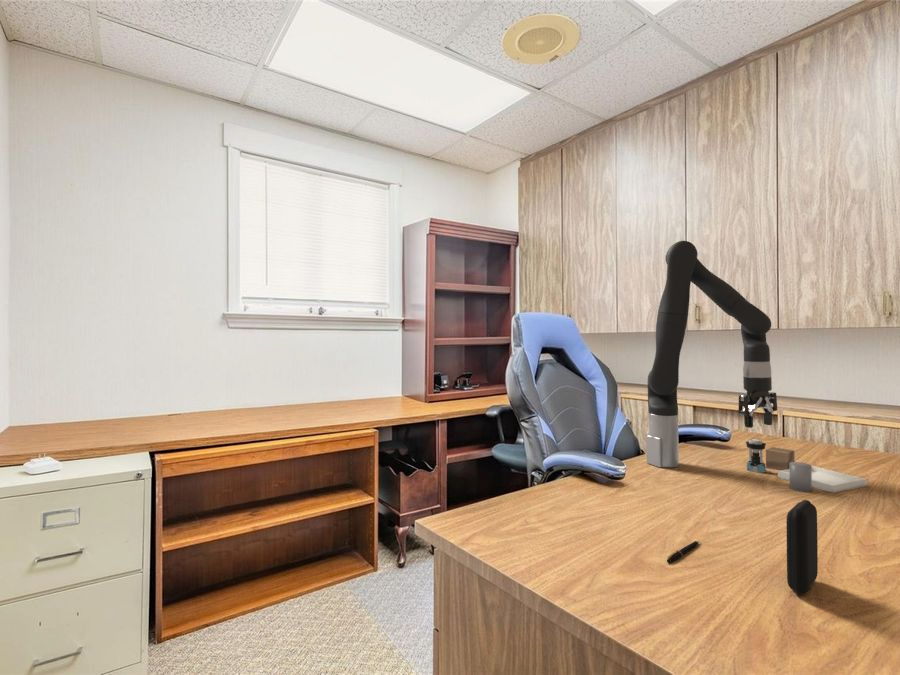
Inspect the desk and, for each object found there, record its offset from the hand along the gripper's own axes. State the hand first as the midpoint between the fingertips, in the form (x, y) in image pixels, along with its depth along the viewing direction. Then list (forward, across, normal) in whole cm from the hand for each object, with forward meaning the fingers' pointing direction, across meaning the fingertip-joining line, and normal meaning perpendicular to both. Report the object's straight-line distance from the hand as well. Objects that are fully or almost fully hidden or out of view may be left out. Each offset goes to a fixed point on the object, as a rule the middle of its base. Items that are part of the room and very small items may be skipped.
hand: (758, 426), depth 148 cm
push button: (+15, 0, 0) cm, 15 cm away
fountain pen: (+15, +66, +32) cm, 75 cm away
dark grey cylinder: (+15, +5, +16) cm, 22 cm away
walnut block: (+15, -10, 0) cm, 18 cm away
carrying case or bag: (+15, +57, +50) cm, 77 cm away
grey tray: (+15, -7, +14) cm, 21 cm away
